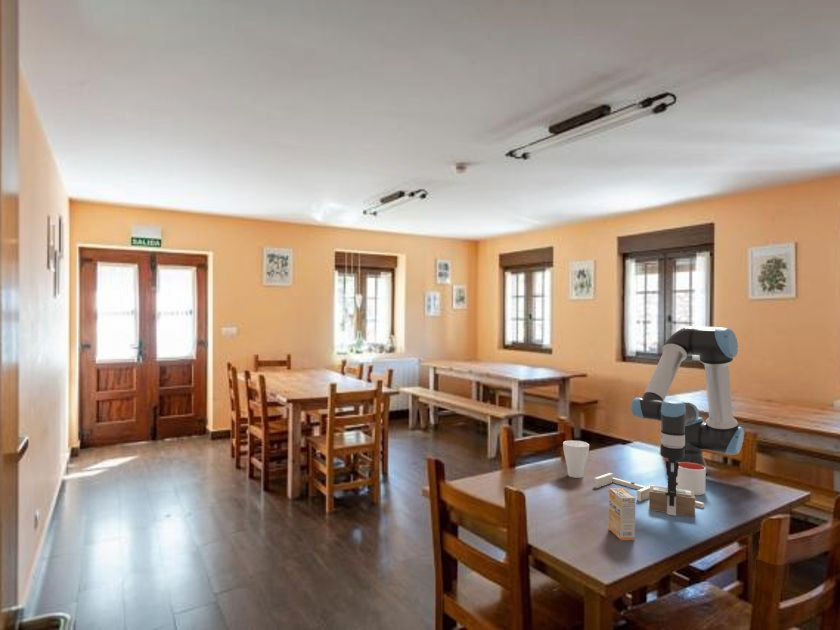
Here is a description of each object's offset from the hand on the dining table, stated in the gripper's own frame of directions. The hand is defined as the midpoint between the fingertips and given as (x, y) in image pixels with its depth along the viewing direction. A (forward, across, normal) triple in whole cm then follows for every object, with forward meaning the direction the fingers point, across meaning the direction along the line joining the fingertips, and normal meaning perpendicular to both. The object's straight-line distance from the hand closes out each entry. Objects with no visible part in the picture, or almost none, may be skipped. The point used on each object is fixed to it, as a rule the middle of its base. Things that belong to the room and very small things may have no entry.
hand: (671, 509), depth 179 cm
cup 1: (0, -22, -36) cm, 42 cm away
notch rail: (0, -11, -8) cm, 13 cm away
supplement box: (+1, +30, -14) cm, 33 cm away
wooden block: (0, 0, 0) cm, 0 cm away
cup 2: (0, -24, +7) cm, 24 cm away
